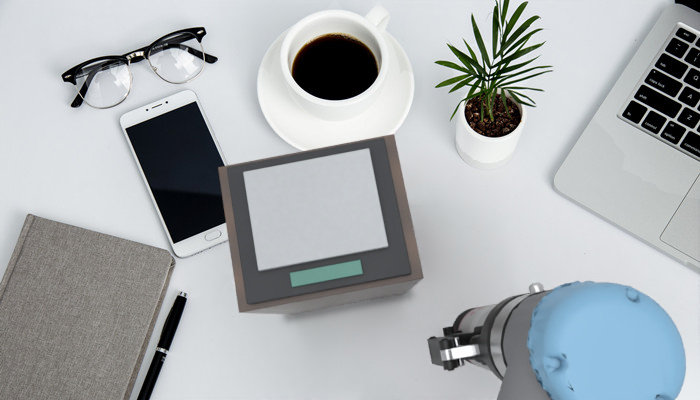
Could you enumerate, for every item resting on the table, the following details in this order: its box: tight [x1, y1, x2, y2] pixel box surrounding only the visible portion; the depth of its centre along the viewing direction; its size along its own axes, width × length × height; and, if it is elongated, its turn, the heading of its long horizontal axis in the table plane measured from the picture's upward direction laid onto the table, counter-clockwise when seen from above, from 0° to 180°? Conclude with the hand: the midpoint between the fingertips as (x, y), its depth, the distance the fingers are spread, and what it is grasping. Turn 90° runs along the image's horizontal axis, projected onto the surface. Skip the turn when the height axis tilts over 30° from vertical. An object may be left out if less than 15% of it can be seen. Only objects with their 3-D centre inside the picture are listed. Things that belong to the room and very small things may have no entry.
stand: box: [217, 133, 425, 315], centre depth 69 cm, size 13×16×32 cm
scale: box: [227, 138, 412, 305], centre depth 52 cm, size 12×14×2 cm
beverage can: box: [452, 303, 498, 373], centre depth 65 cm, size 7×6×15 cm
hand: (484, 336), depth 68 cm, fingers closed on beverage can, 6 cm apart
